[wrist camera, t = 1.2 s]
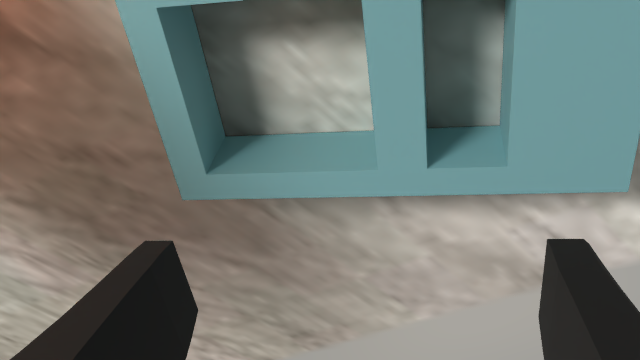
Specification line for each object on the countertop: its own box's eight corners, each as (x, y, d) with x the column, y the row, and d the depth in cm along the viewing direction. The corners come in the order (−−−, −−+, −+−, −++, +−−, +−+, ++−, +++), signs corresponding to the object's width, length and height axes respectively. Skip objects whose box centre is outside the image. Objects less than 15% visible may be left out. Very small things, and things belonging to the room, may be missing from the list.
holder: (652, -107, 16) (684, -84, 14) (608, 148, 21) (628, 191, 19) (139, -52, 19) (106, -27, 17) (203, 161, 24) (182, 200, 22)
